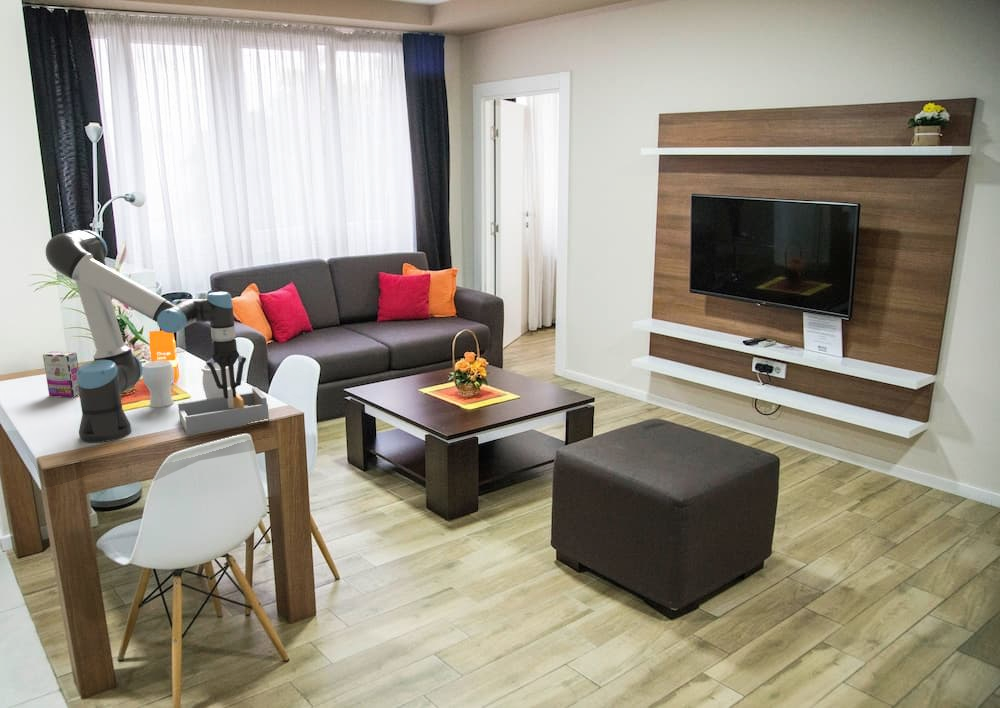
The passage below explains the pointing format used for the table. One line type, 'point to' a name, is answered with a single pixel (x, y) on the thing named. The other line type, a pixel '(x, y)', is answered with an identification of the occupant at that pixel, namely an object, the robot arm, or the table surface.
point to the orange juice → (164, 349)
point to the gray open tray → (222, 413)
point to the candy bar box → (61, 373)
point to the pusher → (238, 401)
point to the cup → (159, 382)
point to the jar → (213, 381)
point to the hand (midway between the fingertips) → (231, 406)
